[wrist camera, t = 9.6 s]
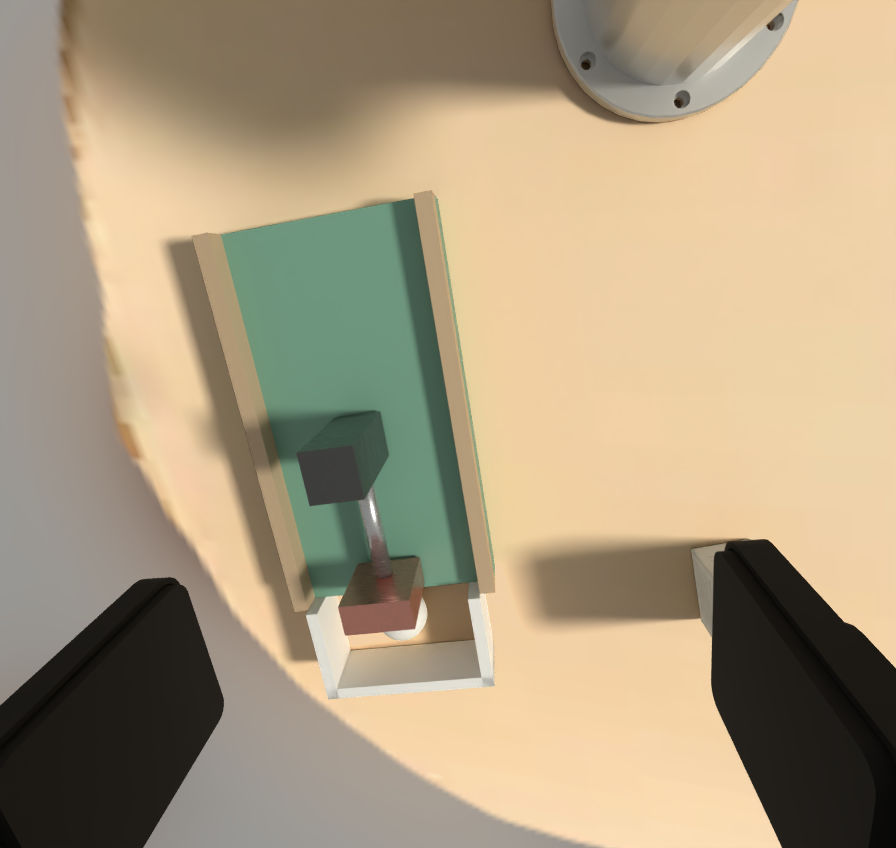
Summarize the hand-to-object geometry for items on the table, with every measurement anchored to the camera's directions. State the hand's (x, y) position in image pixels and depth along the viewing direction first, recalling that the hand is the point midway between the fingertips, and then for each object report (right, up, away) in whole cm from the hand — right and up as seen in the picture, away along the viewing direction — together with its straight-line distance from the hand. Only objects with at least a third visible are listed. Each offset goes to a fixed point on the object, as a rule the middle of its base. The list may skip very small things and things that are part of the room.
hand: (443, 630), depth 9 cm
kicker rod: (-5, -2, +26) cm, 26 cm away
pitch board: (-5, +4, +27) cm, 27 cm away
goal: (-3, -11, +31) cm, 33 cm away
